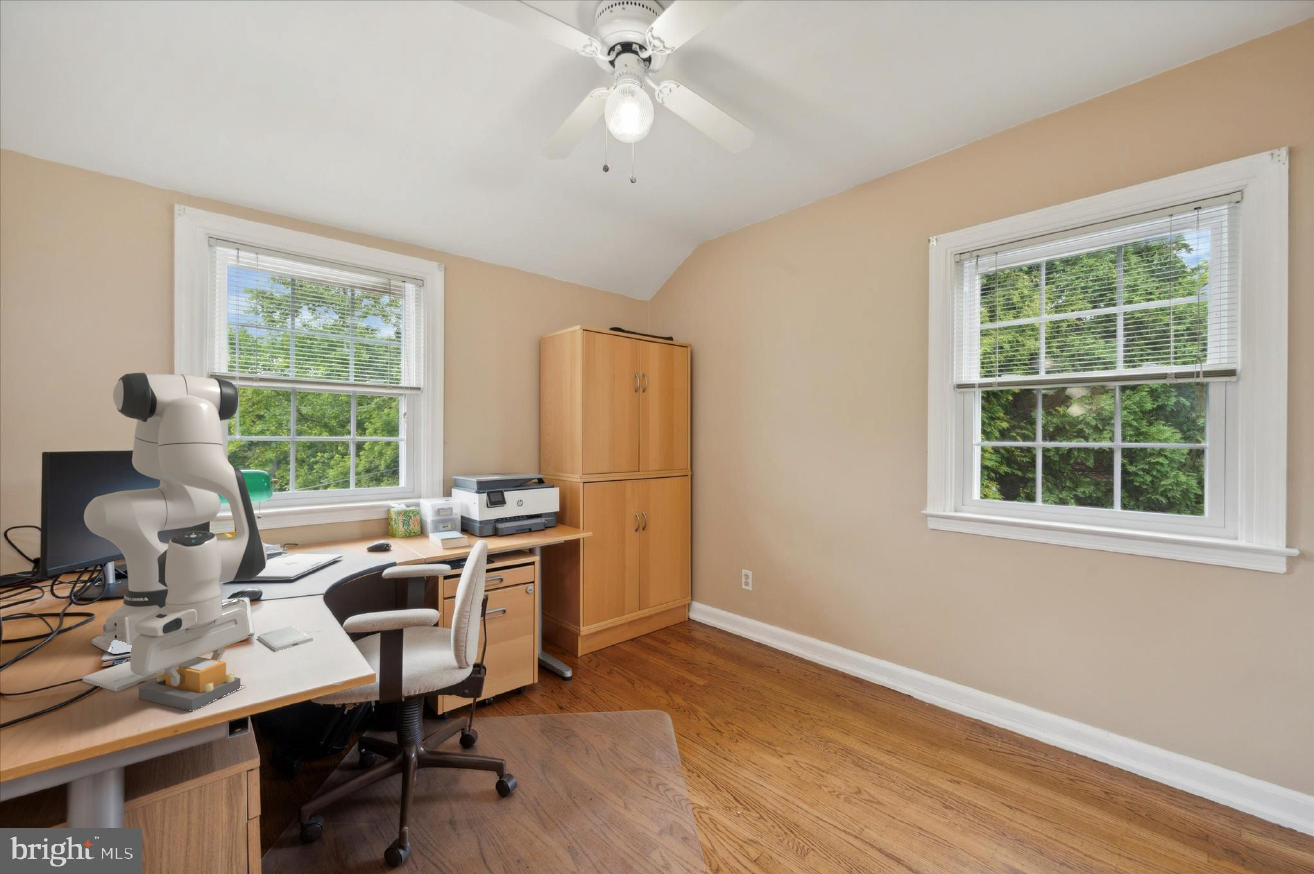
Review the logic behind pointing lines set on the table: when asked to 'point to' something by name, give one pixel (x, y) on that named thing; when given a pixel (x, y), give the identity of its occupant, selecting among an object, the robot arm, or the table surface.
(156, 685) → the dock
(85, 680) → the external hard drive
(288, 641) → the hard drive
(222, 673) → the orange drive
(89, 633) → the table surface
